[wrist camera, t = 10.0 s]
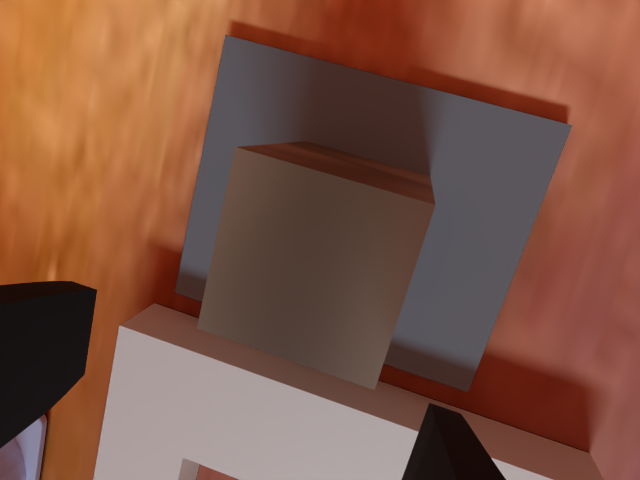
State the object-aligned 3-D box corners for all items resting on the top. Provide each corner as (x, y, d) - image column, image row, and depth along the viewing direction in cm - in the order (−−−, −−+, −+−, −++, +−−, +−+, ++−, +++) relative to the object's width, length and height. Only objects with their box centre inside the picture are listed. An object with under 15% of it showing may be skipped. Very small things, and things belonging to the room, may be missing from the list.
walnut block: (277, 257, 19) (196, 328, 12) (306, 140, 18) (235, 146, 11) (392, 294, 18) (374, 390, 11) (430, 176, 17) (435, 204, 10)
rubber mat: (180, 288, 20) (174, 292, 20) (231, 37, 18) (225, 34, 17) (467, 386, 19) (468, 392, 18) (567, 125, 16) (571, 125, 16)
